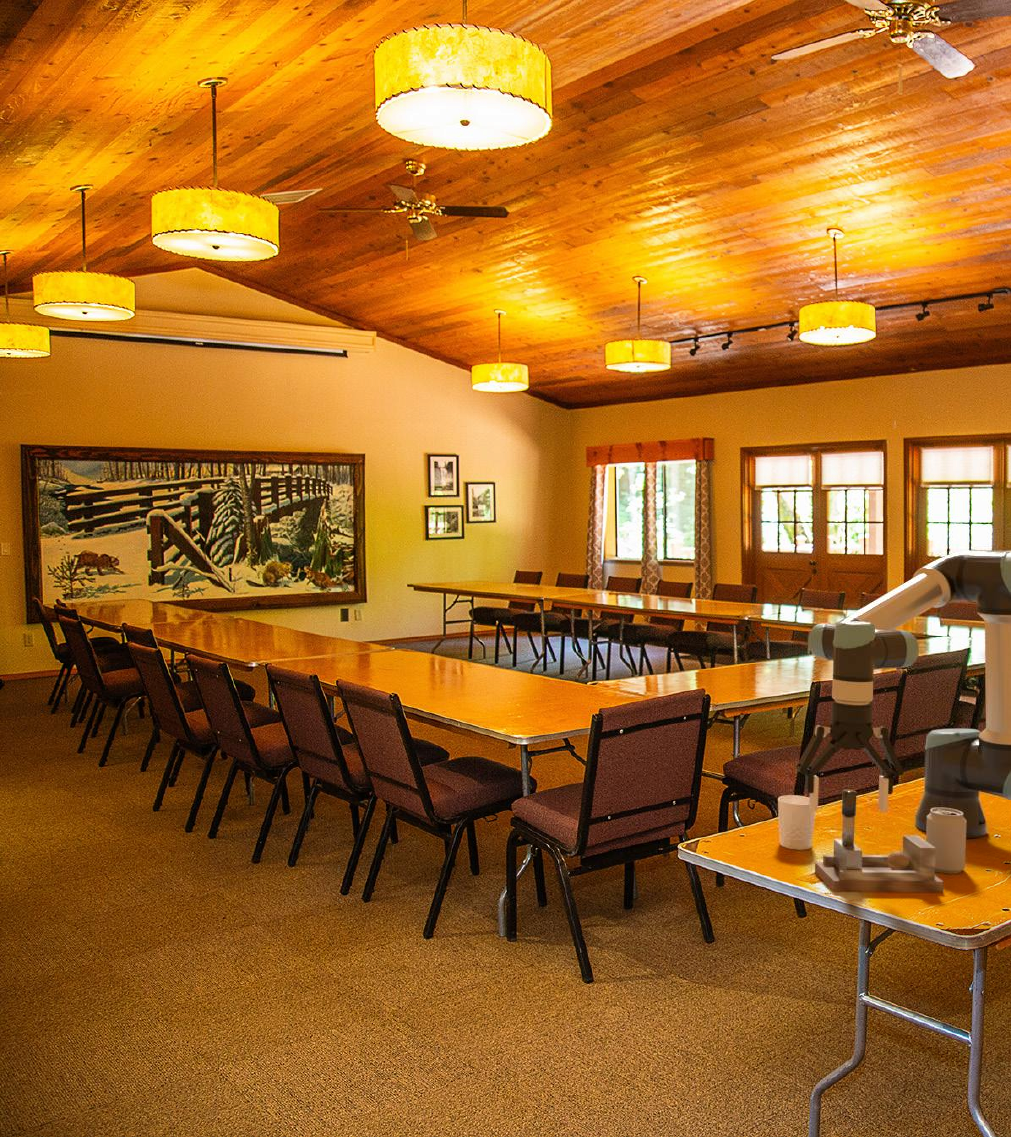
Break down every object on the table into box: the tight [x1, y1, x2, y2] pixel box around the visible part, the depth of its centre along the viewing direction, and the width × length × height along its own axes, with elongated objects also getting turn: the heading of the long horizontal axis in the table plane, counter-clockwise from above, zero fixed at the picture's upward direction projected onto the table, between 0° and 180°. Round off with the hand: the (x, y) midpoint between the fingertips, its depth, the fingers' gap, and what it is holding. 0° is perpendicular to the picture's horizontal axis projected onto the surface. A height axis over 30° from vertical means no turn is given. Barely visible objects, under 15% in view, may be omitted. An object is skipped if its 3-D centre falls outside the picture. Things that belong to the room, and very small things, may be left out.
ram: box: [832, 789, 863, 870], centre depth 202 cm, size 3×7×16 cm, turn 1°
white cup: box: [777, 794, 816, 851], centre depth 225 cm, size 8×8×10 cm
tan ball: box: [887, 850, 909, 871], centre depth 202 cm, size 4×4×4 cm
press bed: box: [814, 834, 944, 893], centre depth 202 cm, size 21×11×8 cm, turn 91°
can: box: [925, 807, 967, 875], centre depth 210 cm, size 8×8×12 cm
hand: (848, 810), depth 201 cm, fingers open, 13 cm apart
